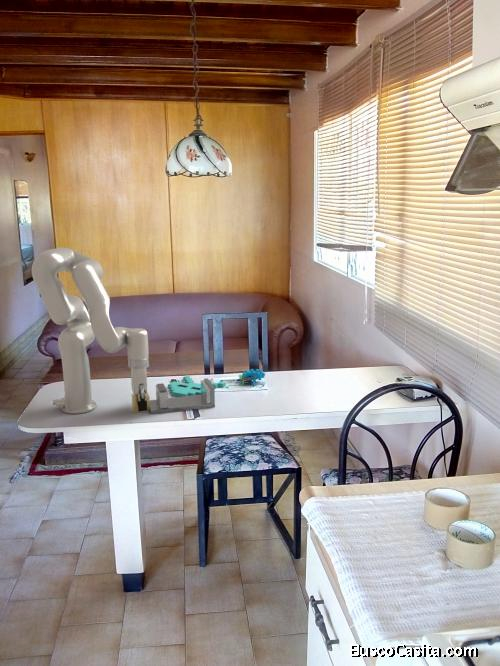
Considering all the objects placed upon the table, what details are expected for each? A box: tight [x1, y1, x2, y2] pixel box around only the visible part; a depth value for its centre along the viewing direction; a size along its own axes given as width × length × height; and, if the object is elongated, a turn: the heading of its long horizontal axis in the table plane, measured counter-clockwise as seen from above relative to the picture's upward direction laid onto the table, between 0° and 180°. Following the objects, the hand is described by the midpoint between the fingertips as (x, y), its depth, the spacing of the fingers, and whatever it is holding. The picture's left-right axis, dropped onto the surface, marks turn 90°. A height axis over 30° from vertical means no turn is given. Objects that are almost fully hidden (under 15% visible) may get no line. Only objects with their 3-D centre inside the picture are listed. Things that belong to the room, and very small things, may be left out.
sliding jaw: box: [155, 382, 169, 409], centre depth 210 cm, size 3×10×7 cm, turn 18°
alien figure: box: [167, 375, 227, 398], centre depth 231 cm, size 20×2×20 cm
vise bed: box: [149, 377, 216, 415], centre depth 212 cm, size 24×11×8 cm, turn 108°
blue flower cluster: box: [238, 368, 266, 386], centre depth 236 cm, size 11×6×10 cm
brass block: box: [131, 392, 150, 414], centre depth 208 cm, size 6×4×6 cm, turn 108°
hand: (141, 406), depth 208 cm, fingers open, 9 cm apart
